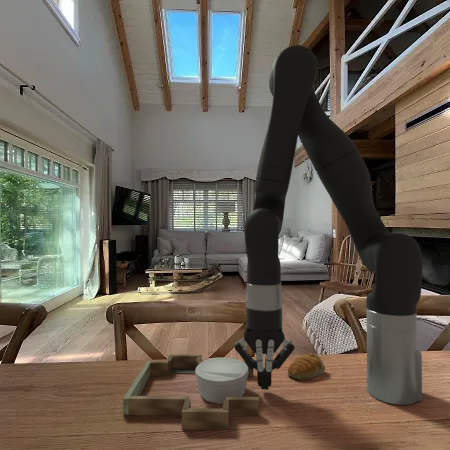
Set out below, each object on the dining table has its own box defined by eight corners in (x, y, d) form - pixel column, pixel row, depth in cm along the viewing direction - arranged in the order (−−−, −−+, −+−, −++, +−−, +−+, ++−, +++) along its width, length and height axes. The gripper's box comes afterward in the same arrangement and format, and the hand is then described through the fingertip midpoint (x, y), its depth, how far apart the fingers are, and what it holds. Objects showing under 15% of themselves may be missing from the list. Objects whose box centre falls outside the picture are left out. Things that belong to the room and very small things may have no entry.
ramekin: (205, 413, 60) (205, 384, 60) (189, 386, 71) (188, 361, 71) (258, 400, 64) (258, 374, 64) (235, 377, 75) (235, 354, 75)
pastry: (304, 385, 71) (304, 368, 71) (280, 375, 76) (279, 359, 76) (327, 372, 77) (327, 356, 77) (303, 364, 82) (303, 349, 82)
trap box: (252, 367, 80) (252, 354, 80) (260, 430, 55) (260, 412, 55) (151, 366, 80) (151, 354, 80) (115, 428, 55) (115, 410, 56)
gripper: (292, 300, 71) (292, 379, 71) (232, 300, 71) (232, 379, 71) (299, 309, 64) (299, 397, 63) (232, 308, 64) (232, 396, 64)
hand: (264, 387), depth 67 cm, fingers closed
